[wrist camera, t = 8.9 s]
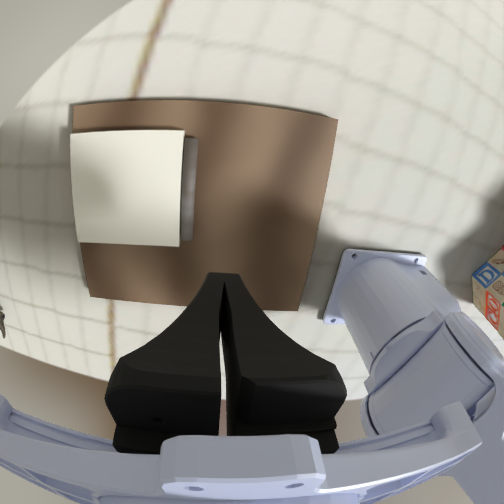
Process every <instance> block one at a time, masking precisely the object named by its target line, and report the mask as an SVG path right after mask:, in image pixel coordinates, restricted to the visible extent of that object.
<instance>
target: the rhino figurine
mask: <svg viewBox="0 0 504 504" xmlns="http://www.w3.org/2000/svg"><path fill="white" fill-rule="evenodd" d="M4 318H5V314H3V313H2V312H1V311H0V330H1V331H2V334H3V338H5V327H4V323H3V320H4Z"/></svg>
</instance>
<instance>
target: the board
mask: <svg viewBox="0 0 504 504" xmlns="http://www.w3.org/2000/svg"><path fill="white" fill-rule="evenodd" d="M337 124H338V119H334V118H329V117H325V116H320V115H315V114H309V113H304V112H298V111H292V110H286V109H279V108H272V107H265V106H257V105H248V104H238V103H226V102H212V101H191V100H140V101H120V102H106V103H95V104H86V105H77V106H74V109H73V133H81V132H93V131H110V130H142V129H165V130H185V139H184V153H183V170H182V191H181V226H180V245H179V247H174V246H153V245H131V244H110V243H88V242H80V245H81V251H82V257H83V263H84V269H85V274H86V279H87V284H88V288H89V293H90V297H97V298H105V299H114V300H123V301H133V302H143V303H153V304H165V305H177V306H188V305H189V304H190V302H191V301H192V300H193V298H194V297H195V296H196V294H197V292H198V291H199V289H200V288H201V286H202V284H203V282H204V280H205V278H206V275H207V274H208V273H209V272H218V273H234V274H239V275H240V276H241V278H242V280H243V282H244V284H245V286H246V288H247V289H248V291H249V293H250V294H251V296H252V297H253V299H254V300H255V301H256V303H257V304H258V306H259V307H260V308H261V309H262V310H273V311H298V309H299V305H300V301H301V297H302V293H303V289H304V285H305V281H306V277H307V273H308V269H309V265H310V261H311V256H312V252H313V248H314V243H315V239H316V235H317V230H318V225H319V221H320V216H321V211H322V207H323V202H324V197H325V192H326V187H327V181H328V176H329V171H330V165H331V160H332V154H333V148H334V142H335V136H336V130H337Z"/></svg>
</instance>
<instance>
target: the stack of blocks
mask: <svg viewBox="0 0 504 504" xmlns="http://www.w3.org/2000/svg"><path fill="white" fill-rule="evenodd" d="M472 287H473V304H474V306H475V307H476V308H477V309H478V310H479V311H480V312H481V313H482V314H483V315H484V316H485V318H486V319H487V320H488V321H489V322H490V323H491V325H492V326H493V327H494V328H495V329H496V330H497V331H498V333H499V334H500V336H501V337H502V338H503V339H504V246H503V247H502V249H500V250H499V251H498V252H497V253H496V254H495V255H494V256H493V257H492V258H490V259H489V260H488V261H487V262H486V263H485V264H484V265H483V266H481V267H480V268H479V269H478V270H477V271H476V272H475V273H474V274H472Z"/></svg>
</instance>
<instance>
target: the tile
mask: <svg viewBox="0 0 504 504" xmlns="http://www.w3.org/2000/svg"><path fill="white" fill-rule="evenodd" d="M184 139H185V130H165V129H142V130H110V131H93V132H81V133H73V134H70V164H71V184H72V197H73V208H74V217H75V226H76V233H77V240H78V242H88V243H110V244H131V245H153V246H174V247H179V245H180V226H181V191H182V170H183V153H184Z"/></svg>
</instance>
